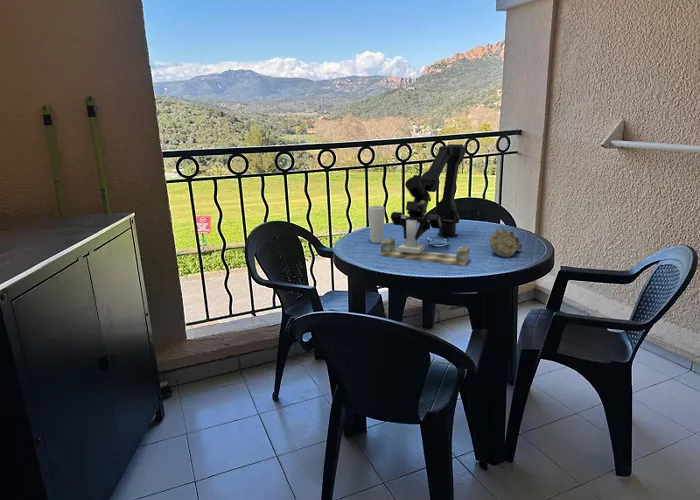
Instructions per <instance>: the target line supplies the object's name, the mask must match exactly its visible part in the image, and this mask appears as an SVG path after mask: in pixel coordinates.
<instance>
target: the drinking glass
mask: <svg viewBox="0 0 700 500" xmlns="http://www.w3.org/2000/svg"><path fill="white" fill-rule="evenodd" d="M367 211H368V214H367V215H368V216H367V217H368V225H369V235H370V238H369V239H370V242H371V243H373V244H381V242H382V241H384V231H385V230H384V228H385V216H386V215H385V213H386V212H385V206H384V205H371V206H369V207H368V210H367Z"/></svg>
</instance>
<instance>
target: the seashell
mask: <svg viewBox="0 0 700 500" xmlns="http://www.w3.org/2000/svg"><path fill="white" fill-rule="evenodd" d="M488 241H489V246H490V248H491V250H492V251H493V252H494V253H495V254H496V255H498V256H500V257H503V258H510V257H513V256H514V254H515V253H516V252H517V250H522V249H523V244H521V243H520V239H519V238H518V237H516V236H515V234H514V232H513V230H512V231H507V230H506V229H505V228H504V227H503V228H501V230H500V231H499V230H498V229H496V230H495V232H493V234H491V235H490V239H488Z"/></svg>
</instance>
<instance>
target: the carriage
mask: <svg viewBox="0 0 700 500" xmlns="http://www.w3.org/2000/svg"><path fill="white" fill-rule="evenodd" d="M417 231H418V223H417V220H416V219H407V220H406V239H405V242H403V243H402V244H400V245H399V246H398V247H397V248H398V251H401V252H410V253H420V252H421V251H424V250H425V244H424V243H423V244H422V243H418V239H417V240H415V237H416V234H417Z"/></svg>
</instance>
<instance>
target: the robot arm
mask: <svg viewBox="0 0 700 500" xmlns="http://www.w3.org/2000/svg"><path fill="white" fill-rule="evenodd" d="M466 153H467V151H466V147H465V146H464V144H460V143H457V144H455V143H453V144H452V143H450V144H449V143H448V144H447V145H441V146H439V147H438V152H437V154H436V156H435V158H434V160H433V161H432V162H431V165H430V167H429V169H428V170H427V171H425V172H424V173H423V174H422V175H421V176H420V175H418V174H413V176H411V177H409V178H408V179H407V180H406V181H405V184H404V186H405V188H406V190H407V191H408V193H409V194H410V196H411V197H412V198H413V200H407V201H406V206H405V210H406V211H407V215H406V214H404V213H403V212H402V211H393V212H391V214H390V220H391V221H392V223H393V225H395V226H401V227H402V229H403V239H404V240H406V220H407V219H416V220H417V224H418V223H419V226H418V227H417V234H416V237H415V240H417V241H418V240H419V239H420V238H421V236H422V235H423V234H424V233H425V232H427V231H428V230H431V229H438V233H437V236H440V237H443V238H453V237H458V234H457V233H456V229H457V228H456V227H457V224H459V222H460V218H461V217H460V215H459V212H458V211H457V208H458V207H457V204H456V201H455V195H456V187H457V181H458V174H459V173H458V172H459V167H460V165H461V164H462V163H463V162H464V158H465V155H466ZM445 167H446V171H445V176H444V177H445V178H444V186H443V191H442V192H443V193H442V198H441V199H440V201H437V204H436V208H435V209H436V210H435V214H430V213H429V214H428V213H427V212H428V211H427V210H428V204H429V202H432V199H431V194H430V193H436V192H437V190H438V189H439V186H440V184H441V182H440V176H441V174H442V172H443V170H444V168H445ZM426 214H428V215H427V217H425V216H426Z"/></svg>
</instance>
